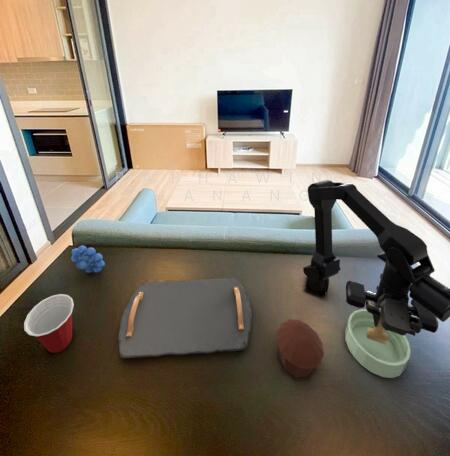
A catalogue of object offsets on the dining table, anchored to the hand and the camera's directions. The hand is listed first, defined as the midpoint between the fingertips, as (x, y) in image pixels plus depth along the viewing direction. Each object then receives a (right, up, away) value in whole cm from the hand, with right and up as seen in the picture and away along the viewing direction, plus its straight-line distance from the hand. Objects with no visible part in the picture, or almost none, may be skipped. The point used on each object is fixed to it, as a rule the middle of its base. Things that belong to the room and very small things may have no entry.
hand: (379, 326), depth 64 cm
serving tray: (-52, -5, +11) cm, 53 cm away
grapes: (-91, +1, +26) cm, 94 cm away
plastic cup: (-86, -7, +4) cm, 87 cm away
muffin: (-22, -9, 0) cm, 23 cm away
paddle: (0, -5, +2) cm, 5 cm away
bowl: (0, -8, +3) cm, 8 cm away
